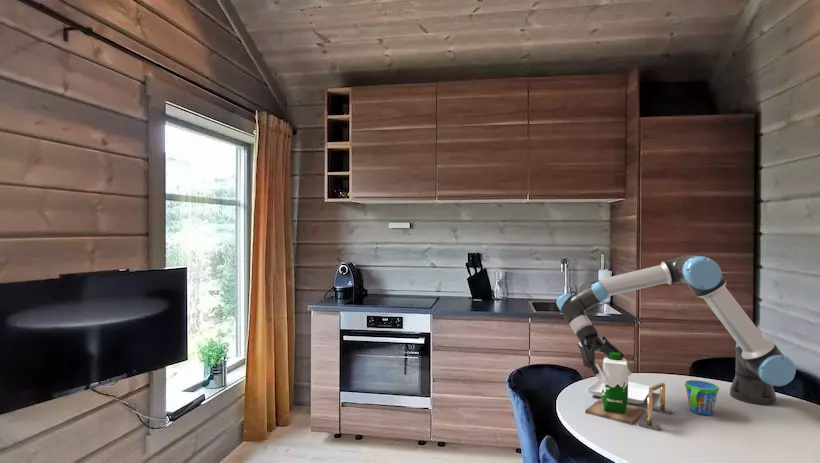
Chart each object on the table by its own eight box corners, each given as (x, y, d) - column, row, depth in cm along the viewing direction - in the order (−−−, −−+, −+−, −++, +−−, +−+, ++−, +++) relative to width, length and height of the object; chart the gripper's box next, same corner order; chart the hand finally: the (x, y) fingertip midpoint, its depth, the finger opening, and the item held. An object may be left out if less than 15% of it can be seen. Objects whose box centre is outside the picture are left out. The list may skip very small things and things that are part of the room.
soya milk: (626, 406, 183) (627, 352, 182) (628, 415, 174) (629, 359, 174) (601, 403, 186) (602, 350, 185) (601, 411, 177) (602, 356, 177)
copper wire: (672, 412, 180) (672, 383, 180) (657, 430, 164) (658, 399, 164) (654, 408, 184) (655, 380, 184) (638, 425, 168) (639, 395, 167)
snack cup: (697, 403, 189) (697, 376, 189) (726, 412, 181) (727, 384, 180) (675, 411, 181) (675, 384, 181) (705, 421, 172) (706, 392, 172)
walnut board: (644, 411, 181) (644, 408, 181) (632, 424, 169) (632, 421, 169) (600, 400, 191) (600, 398, 191) (585, 412, 179) (585, 410, 179)
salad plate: (600, 383, 213) (600, 375, 213) (654, 394, 200) (654, 385, 200) (585, 397, 195) (585, 388, 195) (643, 410, 183) (644, 400, 183)
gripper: (599, 331, 200) (631, 378, 188) (555, 338, 188) (587, 389, 175) (610, 320, 196) (644, 368, 183) (567, 327, 183) (600, 378, 170)
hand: (616, 378), depth 179 cm, fingers open, 13 cm apart
